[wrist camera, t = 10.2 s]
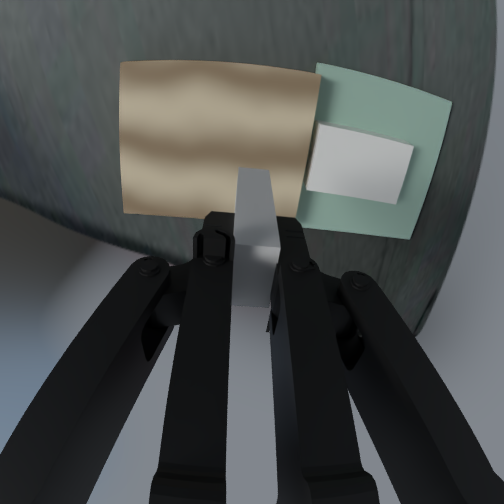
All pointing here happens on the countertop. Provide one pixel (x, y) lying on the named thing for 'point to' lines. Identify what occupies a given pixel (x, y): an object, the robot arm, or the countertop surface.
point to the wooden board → (211, 133)
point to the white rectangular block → (356, 163)
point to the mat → (383, 122)
